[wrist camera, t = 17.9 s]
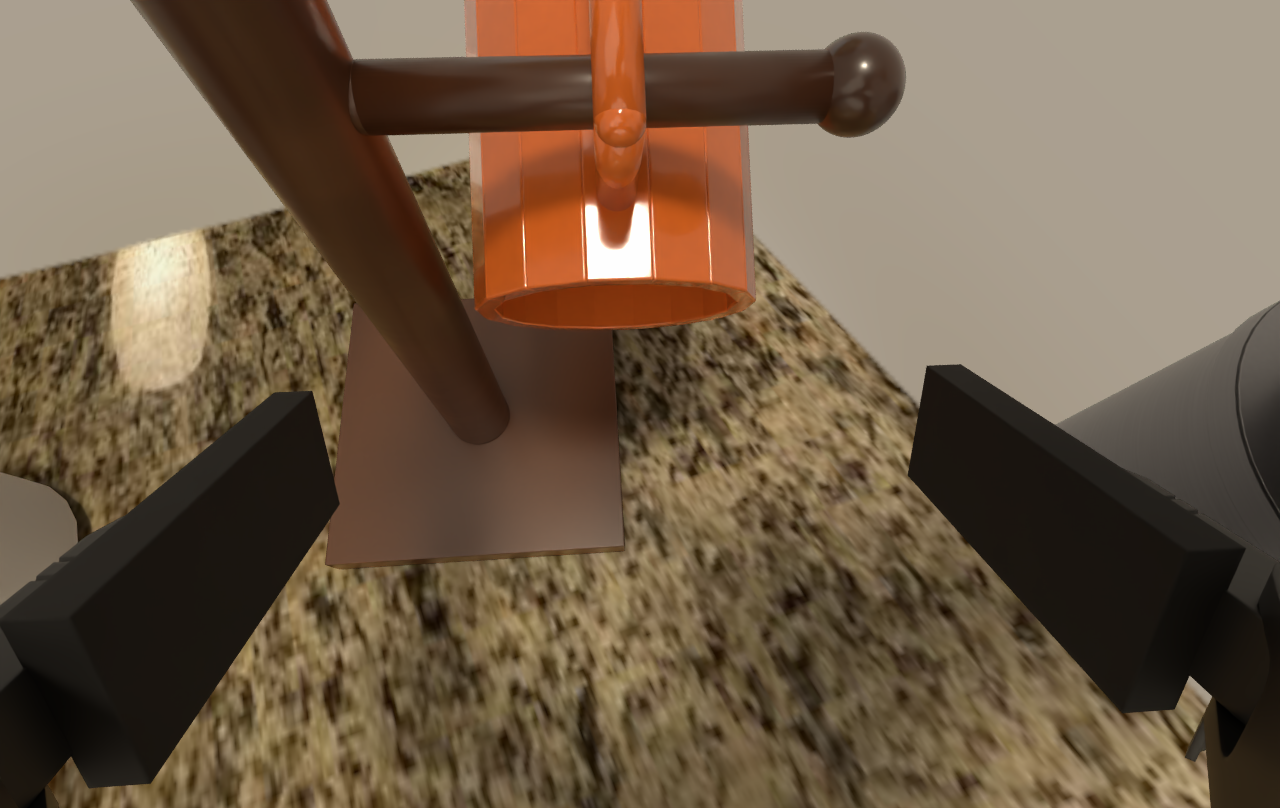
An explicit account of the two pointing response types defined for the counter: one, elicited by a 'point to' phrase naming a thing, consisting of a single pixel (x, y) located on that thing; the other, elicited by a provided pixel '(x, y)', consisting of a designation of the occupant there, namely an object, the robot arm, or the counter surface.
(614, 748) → the counter surface
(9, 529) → the can
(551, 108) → the stand
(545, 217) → the mug
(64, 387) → the counter surface
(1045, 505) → the robot arm
